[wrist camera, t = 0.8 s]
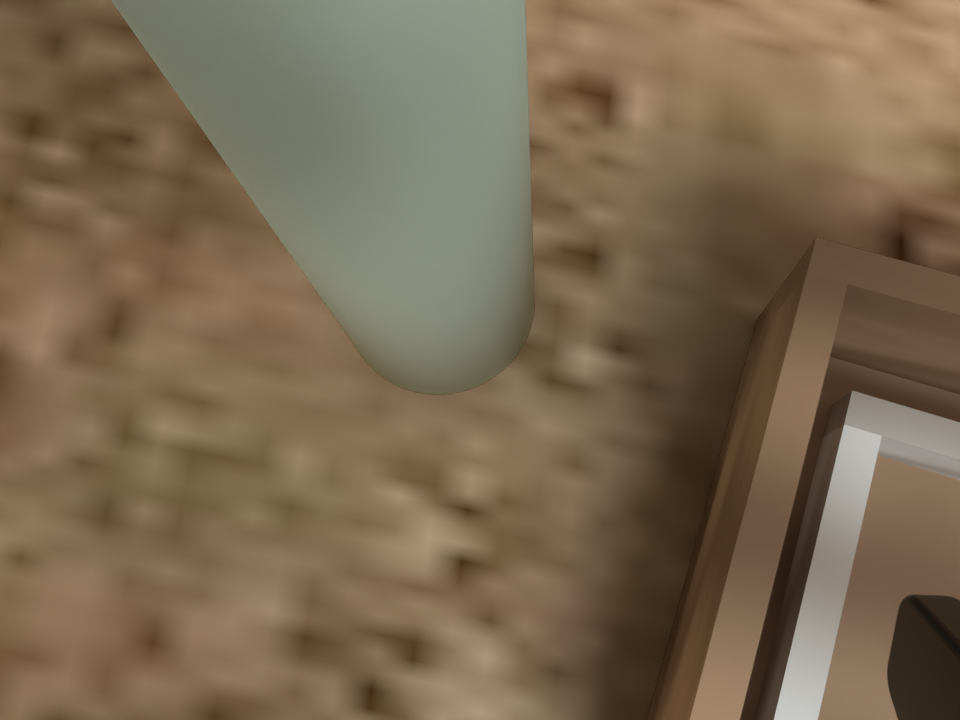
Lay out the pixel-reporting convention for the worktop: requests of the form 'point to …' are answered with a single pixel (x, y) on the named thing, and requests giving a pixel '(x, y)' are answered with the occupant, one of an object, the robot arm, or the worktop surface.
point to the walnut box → (825, 497)
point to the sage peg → (376, 161)
